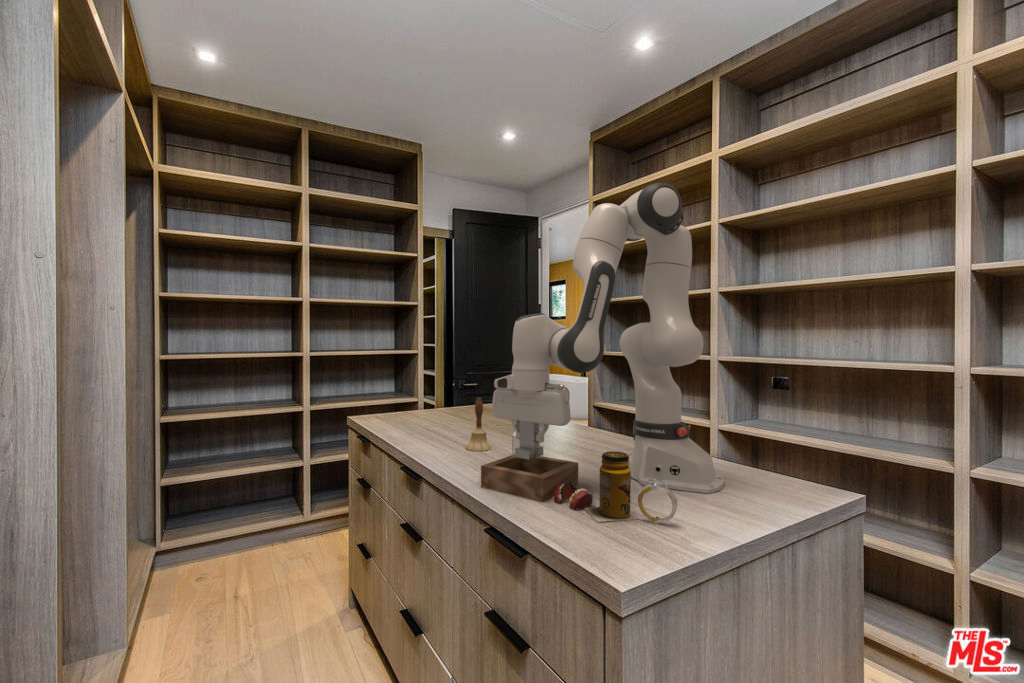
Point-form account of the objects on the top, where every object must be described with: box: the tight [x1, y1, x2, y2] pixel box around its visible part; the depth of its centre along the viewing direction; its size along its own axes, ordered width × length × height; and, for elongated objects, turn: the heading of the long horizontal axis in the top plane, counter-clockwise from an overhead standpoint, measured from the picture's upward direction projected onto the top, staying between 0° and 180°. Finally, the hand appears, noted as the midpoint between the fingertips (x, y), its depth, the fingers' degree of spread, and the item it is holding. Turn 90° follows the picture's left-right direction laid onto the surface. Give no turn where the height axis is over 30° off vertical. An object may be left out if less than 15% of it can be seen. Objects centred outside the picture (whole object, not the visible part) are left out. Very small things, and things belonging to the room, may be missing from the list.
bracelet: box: [637, 479, 678, 525], centre depth 90 cm, size 7×3×8 cm, turn 55°
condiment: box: [583, 450, 639, 523], centre depth 95 cm, size 7×8×12 cm
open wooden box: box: [480, 454, 579, 503], centre depth 113 cm, size 17×16×5 cm
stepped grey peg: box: [515, 421, 544, 460], centre depth 113 cm, size 4×6×9 cm, turn 144°
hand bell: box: [465, 397, 492, 452], centre depth 151 cm, size 8×8×16 cm
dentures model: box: [553, 482, 594, 511], centre depth 101 cm, size 6×4×8 cm
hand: (529, 440), depth 113 cm, fingers closed on stepped grey peg, 4 cm apart
